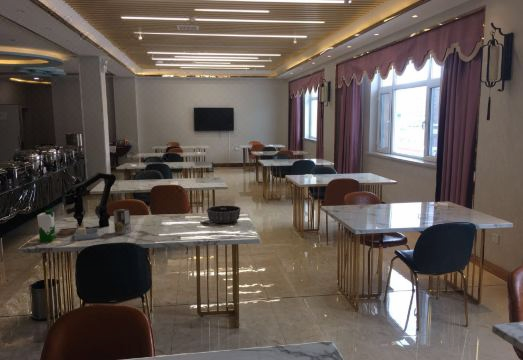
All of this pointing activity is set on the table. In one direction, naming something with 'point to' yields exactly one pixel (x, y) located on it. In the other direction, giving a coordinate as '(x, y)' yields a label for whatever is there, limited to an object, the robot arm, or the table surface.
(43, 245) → the table surface
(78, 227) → the stone
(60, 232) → the walnut caddy
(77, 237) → the slate bin
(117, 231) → the coffee box
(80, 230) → the tan rectangular block
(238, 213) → the bundt pan
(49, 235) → the milk carton
